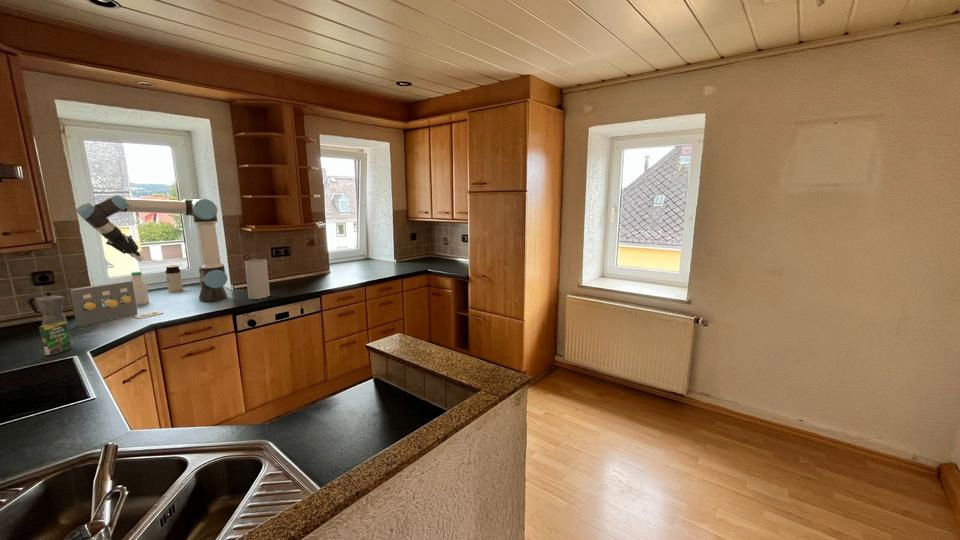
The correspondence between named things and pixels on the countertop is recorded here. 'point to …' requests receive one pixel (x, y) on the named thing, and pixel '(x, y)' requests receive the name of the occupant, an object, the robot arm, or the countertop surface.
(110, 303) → the middle button
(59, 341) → the coffee box
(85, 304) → the button
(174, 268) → the travel mug
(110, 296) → the button panel
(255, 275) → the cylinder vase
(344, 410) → the countertop surface
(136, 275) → the milk bottle
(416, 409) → the countertop surface
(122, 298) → the button
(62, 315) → the coffeepot
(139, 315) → the card
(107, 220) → the robot arm
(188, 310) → the countertop surface
